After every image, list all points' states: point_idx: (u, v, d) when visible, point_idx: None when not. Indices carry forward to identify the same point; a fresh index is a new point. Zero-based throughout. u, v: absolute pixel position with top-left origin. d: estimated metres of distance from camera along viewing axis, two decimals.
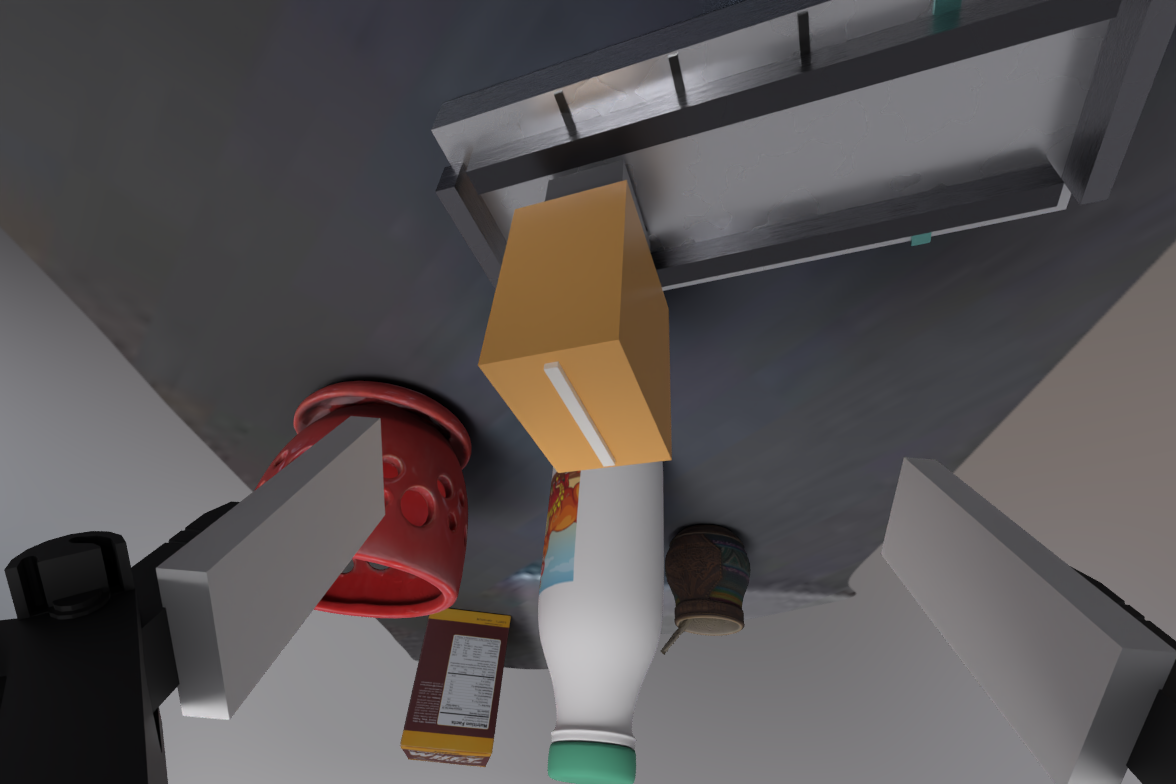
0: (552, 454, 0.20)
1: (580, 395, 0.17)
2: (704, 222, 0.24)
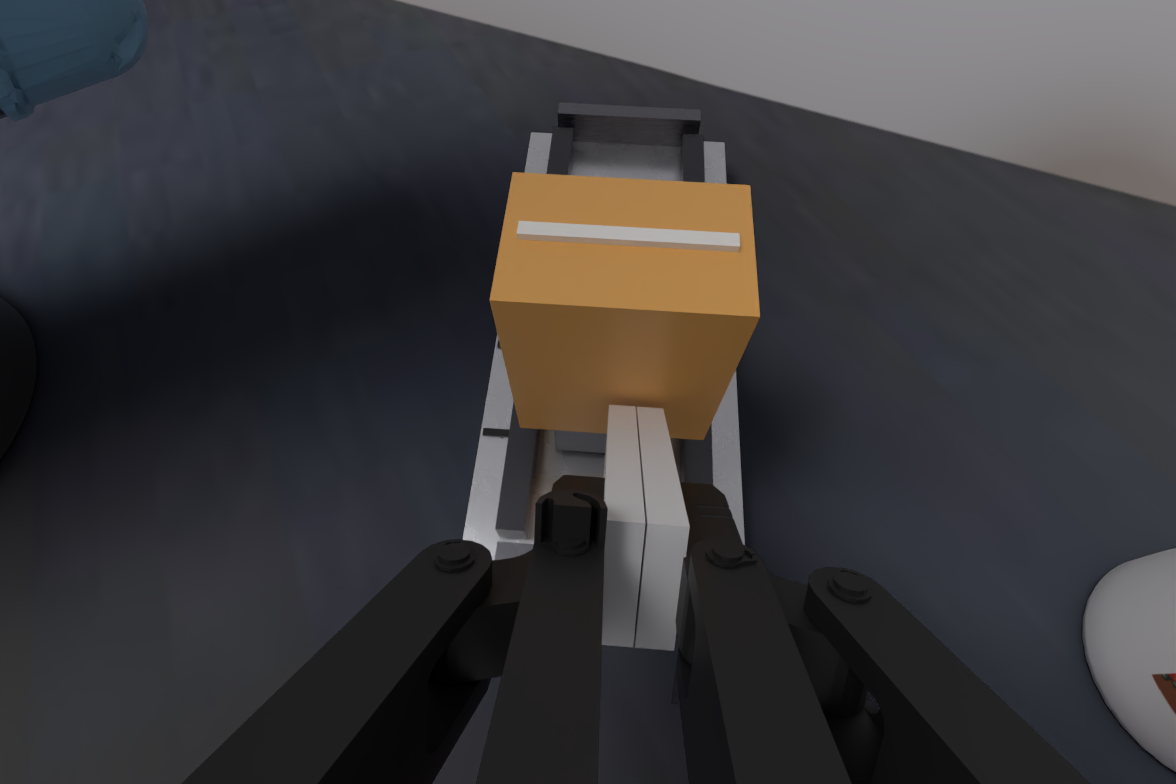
0: (705, 303, 0.13)
1: (584, 227, 0.14)
2: None
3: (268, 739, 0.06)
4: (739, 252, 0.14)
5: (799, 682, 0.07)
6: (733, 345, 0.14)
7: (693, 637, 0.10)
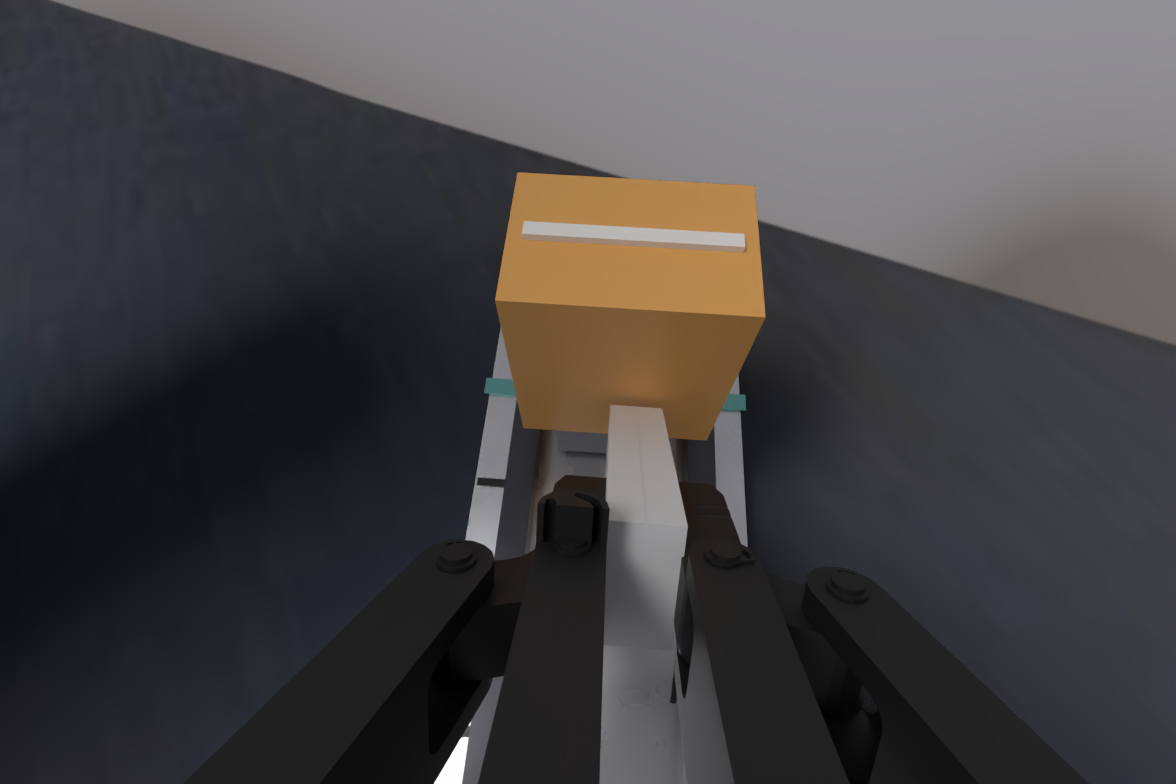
0: (710, 303, 0.13)
1: (589, 227, 0.14)
2: None
3: (270, 739, 0.06)
4: (744, 252, 0.14)
5: (797, 682, 0.07)
6: (738, 345, 0.14)
7: (691, 637, 0.10)
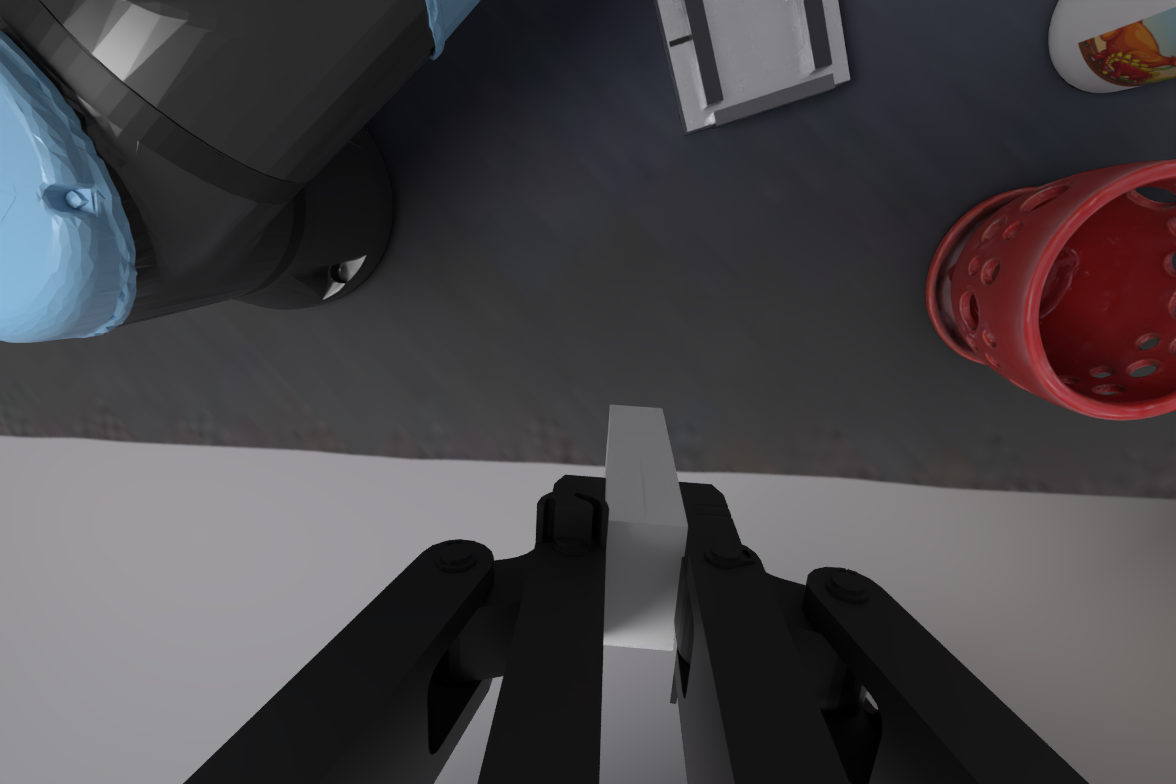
0: None
1: None
2: None
3: (270, 739, 0.06)
4: None
5: (798, 682, 0.07)
6: None
7: (692, 637, 0.10)
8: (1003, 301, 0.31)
